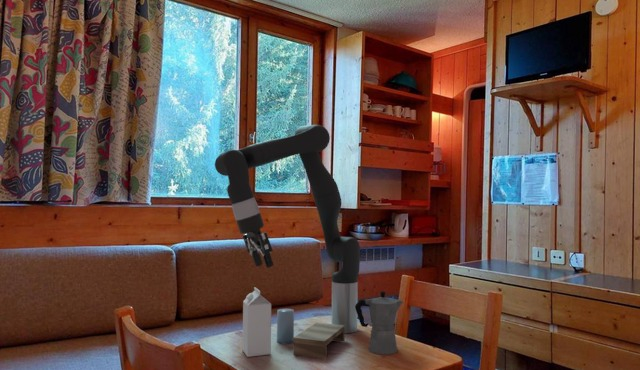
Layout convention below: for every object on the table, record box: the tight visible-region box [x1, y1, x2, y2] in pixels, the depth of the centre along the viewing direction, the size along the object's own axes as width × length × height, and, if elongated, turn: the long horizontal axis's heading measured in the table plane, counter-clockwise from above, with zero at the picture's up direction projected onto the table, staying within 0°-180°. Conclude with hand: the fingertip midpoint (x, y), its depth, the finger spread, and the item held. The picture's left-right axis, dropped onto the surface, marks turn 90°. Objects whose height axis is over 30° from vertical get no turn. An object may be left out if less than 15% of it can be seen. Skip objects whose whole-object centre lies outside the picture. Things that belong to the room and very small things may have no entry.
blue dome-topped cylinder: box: [276, 308, 295, 345], centre depth 150 cm, size 6×6×10 cm
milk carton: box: [242, 287, 272, 358], centre depth 139 cm, size 7×7×19 cm
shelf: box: [292, 322, 346, 360], centre depth 144 cm, size 19×10×5 cm, turn 159°
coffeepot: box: [355, 290, 404, 355], centre depth 142 cm, size 15×9×18 cm, turn 101°
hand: (264, 266), depth 138 cm, fingers open, 8 cm apart
